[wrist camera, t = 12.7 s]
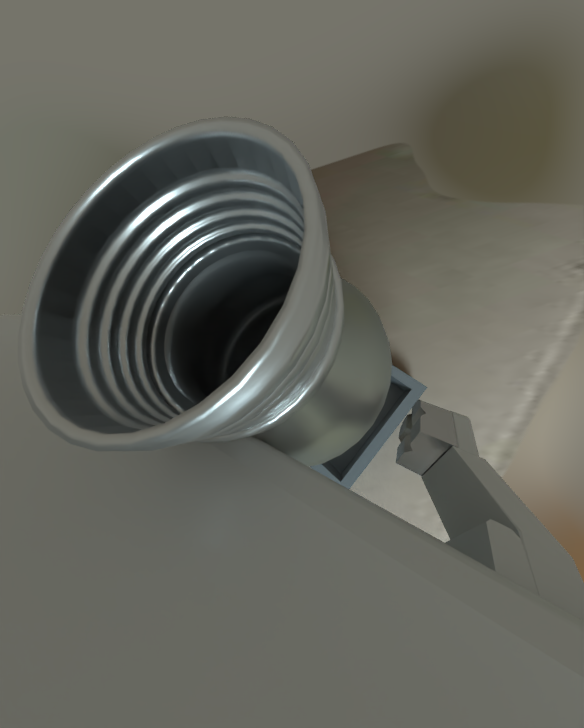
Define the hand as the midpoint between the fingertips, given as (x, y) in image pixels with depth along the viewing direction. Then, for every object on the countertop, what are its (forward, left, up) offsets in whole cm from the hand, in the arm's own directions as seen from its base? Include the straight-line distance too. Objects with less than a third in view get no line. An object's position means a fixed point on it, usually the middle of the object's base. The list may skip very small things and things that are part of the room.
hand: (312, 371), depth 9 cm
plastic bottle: (-1, 0, -13) cm, 13 cm away
